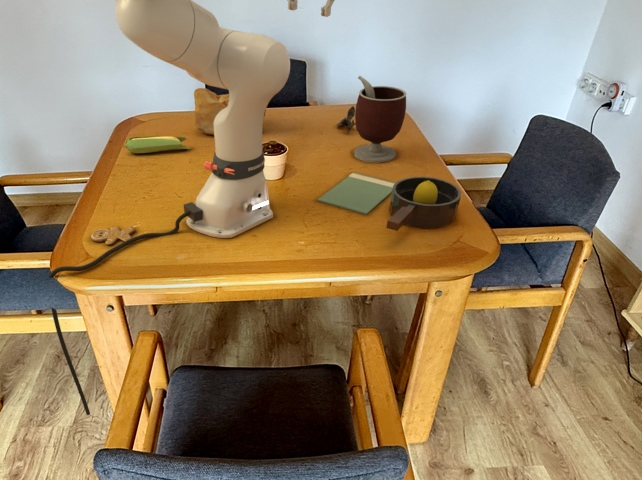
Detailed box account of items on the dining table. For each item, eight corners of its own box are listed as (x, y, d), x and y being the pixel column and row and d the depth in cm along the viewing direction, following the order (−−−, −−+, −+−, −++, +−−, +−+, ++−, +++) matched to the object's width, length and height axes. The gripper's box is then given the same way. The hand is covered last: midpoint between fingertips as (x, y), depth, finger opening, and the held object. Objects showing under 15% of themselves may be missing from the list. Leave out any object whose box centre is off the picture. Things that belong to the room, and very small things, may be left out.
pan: (441, 235, 122) (446, 211, 118) (378, 218, 129) (381, 194, 125) (464, 209, 131) (470, 186, 127) (404, 194, 138) (408, 171, 134)
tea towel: (366, 215, 130) (366, 213, 130) (317, 201, 136) (317, 199, 136) (400, 185, 142) (400, 183, 142) (353, 173, 148) (353, 172, 148)
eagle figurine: (365, 129, 171) (359, 115, 176) (356, 112, 165) (350, 97, 171) (344, 142, 173) (338, 128, 179) (334, 126, 168) (329, 111, 174)
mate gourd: (407, 153, 158) (420, 80, 145) (380, 167, 151) (390, 92, 138) (365, 140, 166) (373, 70, 153) (337, 153, 159) (343, 81, 146)
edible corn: (127, 150, 165) (124, 135, 162) (191, 146, 166) (190, 131, 163) (126, 157, 161) (123, 142, 158) (192, 152, 163) (190, 137, 160)
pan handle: (397, 231, 115) (398, 223, 114) (386, 227, 117) (387, 220, 115) (418, 210, 122) (419, 202, 121) (407, 207, 123) (409, 200, 122)
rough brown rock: (267, 122, 183) (266, 74, 174) (267, 135, 170) (265, 83, 161) (201, 125, 185) (196, 77, 175) (195, 138, 171) (189, 88, 162)
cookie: (131, 241, 121) (87, 242, 121) (132, 245, 122) (88, 246, 122) (136, 223, 128) (94, 225, 127) (136, 227, 128) (95, 228, 128)
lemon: (432, 207, 132) (438, 176, 126) (435, 217, 128) (442, 186, 122) (409, 206, 132) (415, 175, 127) (411, 217, 128) (418, 185, 123)
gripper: (262, -64, 115) (265, 9, 126) (341, -55, 106) (337, 23, 116) (280, -70, 118) (282, 2, 129) (358, -62, 109) (353, 15, 119)
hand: (309, 12), depth 122 cm, fingers open, 8 cm apart
